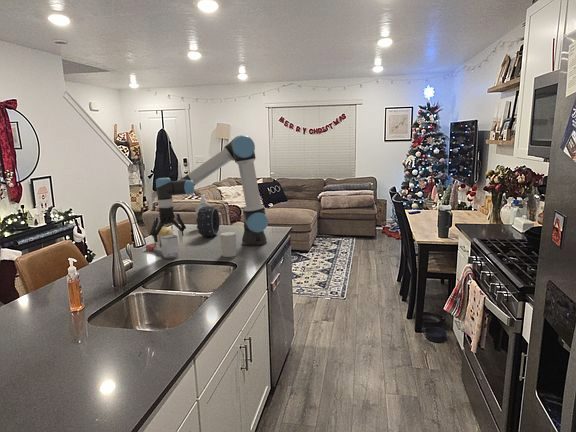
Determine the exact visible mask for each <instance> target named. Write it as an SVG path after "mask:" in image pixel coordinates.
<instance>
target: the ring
mask: <svg viewBox="0 0 576 432" xmlns="http://www.w3.org/2000/svg"><path fill="white" fill-rule="evenodd" d="M198 211H199V212H198V213H197V216H196V217H197V218H196V219H195V220H196V223H197V225H196V228H197V230H198V231H197V233H199V234H200V235H201V236H202V237H214V236H215V235H217V234H218V233H219V231H220V226H221V225H220V214H219V213H220V212H219V210H218V208H216V207H215V206H212V205H211V206H205V207H202V208H200V209H199V210H198Z"/></svg>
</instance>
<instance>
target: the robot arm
mask: <svg viewBox="0 0 576 432" xmlns="http://www.w3.org/2000/svg"><path fill="white" fill-rule="evenodd" d="M255 147H256V145H255V142H254V140H253V139H252V138H251V137H250V136H248V135H246V134H243V135H242V134H241V135H237V136H235V137H234V138H233V139H231V141H230V142H228V143H227V144H226V145H225V146H223V149H222V150H220V151H219V152H217V154H215V155H213V156H211V157H210V158H208V159H207V160H206V161H204V162H203V163H202V164H200V165H199V166H198V167H196V168H195V169H194V170H191V172H188V174H186V175H185V176H183V177H181V178H179V179H178V180H174V181H173V180H171V178H170V177H159V178H156V179H155V185H156V186H155V188H156V196H157V197H156V198H157V205H158V215H159V217H156V216H154V217H153V223H152V226H151V229H150V232H149V236H151V237H153V236H154V238H153V241H154V243H155V245H156V247H157V248H160V247H161V244H160V242H159V236H157V235H158V234H159V232H160V230H161V229H162V227H165V225H169V224H173V225H174V226H175V227H176V228H177V229H178V231H177V233H178V243H184V240H183V239H184V238H183V237H184V231H185V230H186V229H187V226H186V225H185V224H184V222H183V220H182V219H181V217H180V215H181V214H180V213H175V214H174V201H173V196H178V195H179V196H180V195H181V196H182V195H192V194H195V186H197V185H198V184H199V183H201V182H202V181H204V180H205V179H207V178H208V177H209V176H211V175H212V174H213V173H215V172H216V171H218V170H220V169H221V168H223V167H224V166H226V165H227V164H228V163H229V162H231V161H234V163H235V164H237V166H238V170H239V177H240V180H241V181H240V182H241V186H242V191H243V192H242V193H243V198H244V203H245V206H243V207H242V216H243V219H242V220H243V235H242V239H241V244H242V245H243V246H247V247H255V246H256V247H257V246H262V245H265V244H267V243H268V239H267V236H266V233H265V230H266V228H267V227H268V225H269V220H268V217H267V215H266V209H265V205H263V204H262V202H261V196H260V191H259V185H258V178H257V175H256V169H255V168H256V167H255V160H256V159H257V158H256V153H255V149H256V148H255ZM175 219H176V220H177V222H178V223H177V222H176V220H175ZM156 228H157V229H156Z"/></svg>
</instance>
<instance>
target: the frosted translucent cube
mask: <svg viewBox="0 0 576 432" xmlns="http://www.w3.org/2000/svg"><path fill="white" fill-rule="evenodd" d="M160 247H161V248H162V253H165V254H172V253H176V252H178V253H179V252H180V248H179V247H180V246H179V236H178V235H176V234H174V233H173V234H170V235H165V236H161V244H160Z"/></svg>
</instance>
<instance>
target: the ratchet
mask: <svg viewBox="0 0 576 432" xmlns="http://www.w3.org/2000/svg"><path fill="white" fill-rule="evenodd" d="M145 249H146V251H148V252H151V253H153V254H157V255H158V256H159V255H160V256H161V257H162V258H163V259H164V260H174V259H177V258H179V252H176V253H172V254H165V253H162V246H160V248H157V247H156V243H149V244H146V245H145Z"/></svg>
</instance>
